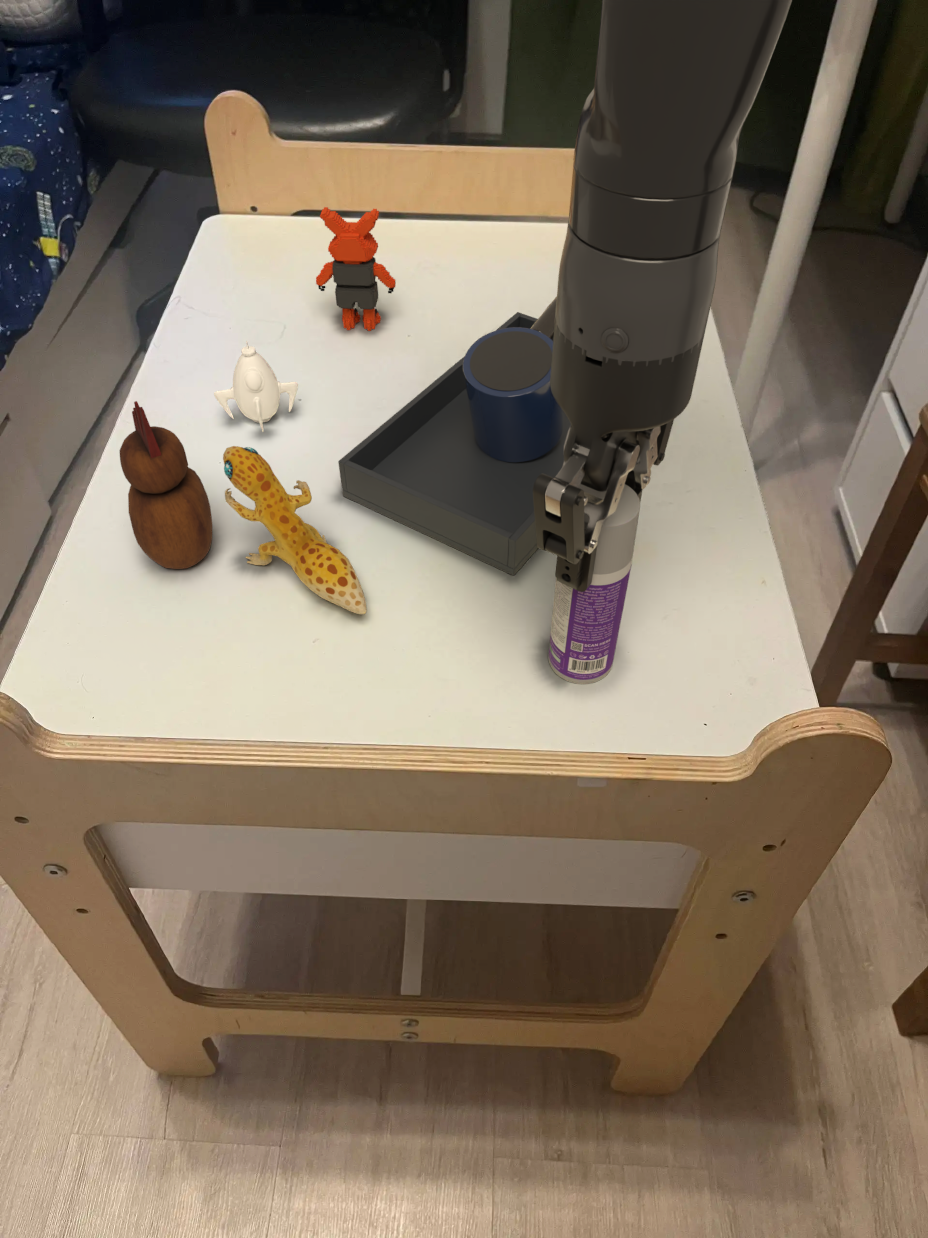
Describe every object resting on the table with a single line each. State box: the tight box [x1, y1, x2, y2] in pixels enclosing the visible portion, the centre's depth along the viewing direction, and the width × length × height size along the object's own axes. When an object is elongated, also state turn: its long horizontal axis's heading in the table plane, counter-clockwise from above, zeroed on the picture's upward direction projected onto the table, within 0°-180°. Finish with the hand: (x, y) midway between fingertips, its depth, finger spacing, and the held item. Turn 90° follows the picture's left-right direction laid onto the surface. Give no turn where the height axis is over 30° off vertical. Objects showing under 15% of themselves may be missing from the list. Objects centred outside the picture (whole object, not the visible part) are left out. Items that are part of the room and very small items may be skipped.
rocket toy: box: [213, 340, 299, 433], centre depth 83 cm, size 5×5×8 cm
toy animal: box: [315, 206, 396, 332], centre depth 93 cm, size 8×6×12 cm
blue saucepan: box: [463, 295, 563, 462], centre depth 79 cm, size 15×8×8 cm, turn 146°
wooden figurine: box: [119, 400, 213, 570], centre depth 68 cm, size 7×6×15 cm
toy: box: [222, 445, 367, 615], centre depth 68 cm, size 7×15×10 cm, turn 51°
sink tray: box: [337, 311, 571, 576], centre depth 81 cm, size 17×28×4 cm, turn 146°
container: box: [547, 484, 641, 685], centre depth 60 cm, size 5×5×15 cm
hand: (595, 555), depth 58 cm, fingers open, 5 cm apart
